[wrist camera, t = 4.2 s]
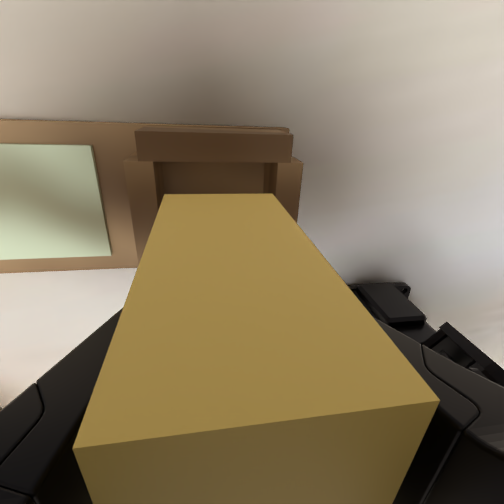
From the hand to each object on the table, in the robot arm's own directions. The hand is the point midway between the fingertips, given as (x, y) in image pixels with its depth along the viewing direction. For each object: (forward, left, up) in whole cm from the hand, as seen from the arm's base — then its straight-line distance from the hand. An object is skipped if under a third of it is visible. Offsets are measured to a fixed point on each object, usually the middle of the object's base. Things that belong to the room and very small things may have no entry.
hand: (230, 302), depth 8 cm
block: (0, 0, -4) cm, 4 cm away
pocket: (0, 0, -11) cm, 11 cm away
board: (0, +4, -11) cm, 12 cm away
